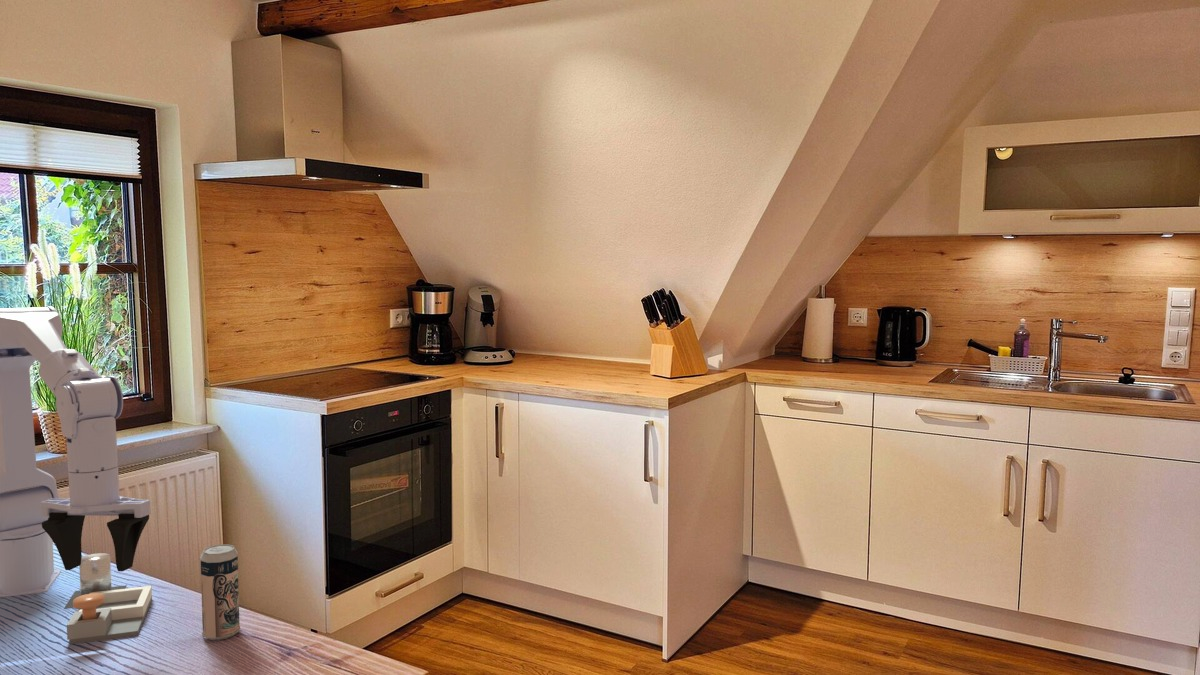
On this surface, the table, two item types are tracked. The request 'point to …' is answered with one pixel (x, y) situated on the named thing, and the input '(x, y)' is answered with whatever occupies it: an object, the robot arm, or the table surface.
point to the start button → (88, 604)
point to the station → (112, 616)
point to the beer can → (220, 592)
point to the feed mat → (78, 593)
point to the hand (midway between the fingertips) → (99, 568)
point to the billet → (95, 573)
